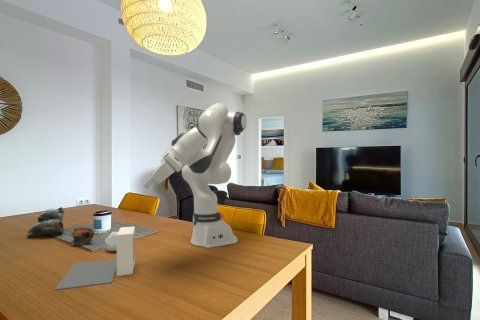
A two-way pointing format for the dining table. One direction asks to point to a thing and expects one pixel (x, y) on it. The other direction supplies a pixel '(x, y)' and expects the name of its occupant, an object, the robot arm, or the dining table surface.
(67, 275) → the mat
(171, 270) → the dining table surface
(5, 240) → the dining table surface
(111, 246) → the die
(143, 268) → the dining table surface
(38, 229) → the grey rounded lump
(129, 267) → the cream block
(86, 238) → the pottery mug
